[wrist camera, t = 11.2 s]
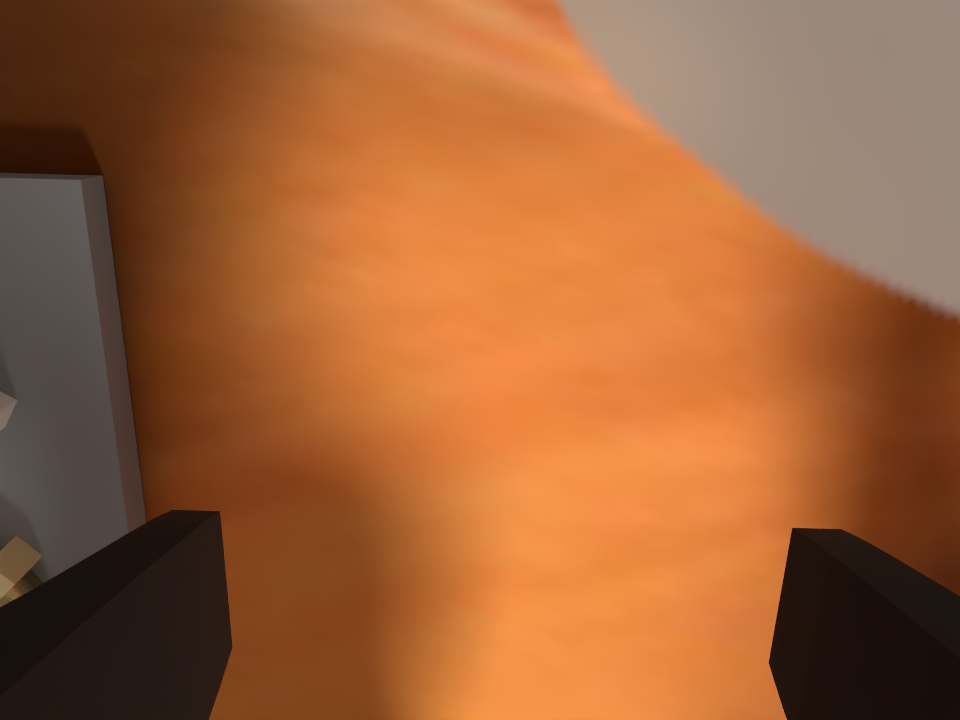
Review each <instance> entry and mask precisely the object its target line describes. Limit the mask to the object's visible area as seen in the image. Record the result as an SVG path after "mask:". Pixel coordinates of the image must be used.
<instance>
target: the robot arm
mask: <svg viewBox="0 0 960 720" xmlns="http://www.w3.org/2000/svg"><path fill="white" fill-rule="evenodd" d="M231 650H232V638H231V627H230V616H229V605H228V594H227V583H226V572H225V561H224V550H223V539H222V528H221V517H220V511H189V510H171V511H169V512H167V513H164V514H162V515H160V516H158V517H156V518H154V519H152V520H151V521H149V522H147V523H145V524H143V525H142V526H140V527H138V528H136V529H135V530H133V531H131V532H129V533H128V534H126V535H124V536H122V537H121V538H119V539H117V540H116V541H114V542H112V543H111V544H109V545H107V546H106V547H104V548H102V549H101V550H99V551H97V552H96V553H94V554H92V555H90V556H89V557H87V558H85V559H84V560H82V561H80V562H79V563H77V564H75V565H73V566H72V567H70V568H68V569H67V570H65V571H63V572H62V573H60V574H58V575H56V576H55V577H53V578H51V579H50V580H48V581H46V582H45V583H43V584H41V585H39V586H38V587H36V588H34V589H33V590H31V591H29V592H27V593H25V594H24V595H22V596H20V597H18V598H16V599H14V600H13V601H11V602H9V603H7V604H5V605H3V606H1V607H0V720H209V717H210V714H211V711H212V708H213V705H214V702H215V699H216V696H217V694H218V691H219V688H220V685H221V681H222V678H223V675H224V672H225V669H226V666H227V662H228V659H229V656H230V653H231ZM769 665H770V668H771V671H772V675H773V678H774V681H775V684H776V687H777V691H778V694H779V697H780V700H781V703H782V706H783V709H784V712H785V715H786V718H787V720H960V597H959V596H958V595H956V594H954V593H953V592H951V591H949V590H948V589H946V588H944V587H943V586H941V585H939V584H938V583H936V582H934V581H933V580H931V579H929V578H928V577H926V576H924V575H923V574H921V573H919V572H918V571H916V570H914V569H913V568H911V567H909V566H908V565H906V564H904V563H903V562H901V561H899V560H898V559H896V558H894V557H892V556H891V555H889V554H887V553H886V552H884V551H882V550H880V549H879V548H877V547H875V546H873V545H871V544H870V543H868V542H866V541H864V540H862V539H860V538H858V537H856V536H854V535H852V534H850V533H848V532H846V531H844V530H841V529H810V528H792V533H791V539H790V545H789V550H788V556H787V562H786V567H785V573H784V579H783V585H782V590H781V596H780V602H779V607H778V613H777V619H776V624H775V630H774V636H773V642H772V647H771V653H770V659H769Z"/></svg>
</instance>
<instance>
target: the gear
mask: <svg viewBox="0 0 960 720" xmlns="http://www.w3.org/2000/svg"><path fill="white" fill-rule="evenodd" d="M0 305H1V304H0ZM16 402H17V400H16V399H14V398H12V397H10V396H8V395H6V394H4V393H3V392H1V391H0V430H2V429H3V428H5V427H6V425H7V422H8V420H9V418H10V416H11V413H12V411H13V409H14V407H15V405H16Z"/></svg>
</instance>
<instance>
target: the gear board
mask: <svg viewBox="0 0 960 720" xmlns="http://www.w3.org/2000/svg"><path fill="white" fill-rule="evenodd" d="M0 304H1V305H0V391H1V392H3V393H4V394H6V395H8V396H10V397H12V398H14V399H16V400H17V402H16V405H15V407H14V409H13V411H12V413H11V416H10V418H9V420H8V422H7V425H6V427H5V428H3V429H2V430H0V607H1V606H3V605H5V604H7V603H9V602H11V601H13V600H14V599H16V598H18V597H20V596H22V595H24V594H25V593H27V592H29V591H31V590H33V589H34V588H36V587H38V586H39V585H41V584H43V583H45V582H46V581H48V580H50V579H51V578H53V577H55V576H56V575H58V574H60V573H62V572H63V571H65V570H67V569H68V568H70V567H72V566H73V565H75V564H77V563H79V562H80V561H82V560H84V559H85V558H87V557H89V556H90V555H92V554H94V553H96V552H97V551H99V550H101V549H102V548H104V547H106V546H107V545H109V544H111V543H112V542H114V541H116V540H117V539H119V538H121V537H122V536H124V535H126V534H128V533H129V532H131V531H133V530H135V529H136V528H138V527H140V526H142V525H143V524H145V523H147V522H146V514H145V506H144V498H143V490H142V483H141V475H140V467H139V459H138V451H137V443H136V435H135V427H134V419H133V411H132V403H131V395H130V387H129V379H128V371H127V364H126V356H125V348H124V340H123V332H122V324H121V316H120V308H119V300H118V292H117V284H116V276H115V268H114V260H113V252H112V244H111V237H110V229H109V221H108V213H107V205H106V197H105V189H104V181H103V176H102V175H66V174H29V173H0Z"/></svg>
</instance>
